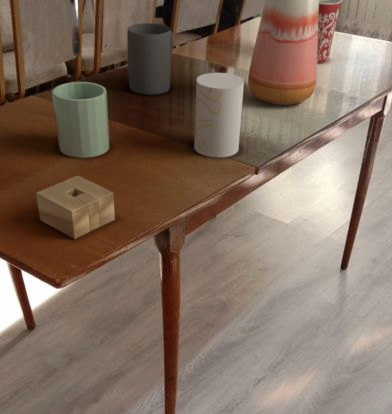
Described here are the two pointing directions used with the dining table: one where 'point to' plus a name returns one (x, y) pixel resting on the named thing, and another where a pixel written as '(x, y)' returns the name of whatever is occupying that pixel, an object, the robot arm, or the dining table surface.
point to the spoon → (75, 27)
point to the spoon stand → (76, 206)
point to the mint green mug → (81, 119)
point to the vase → (285, 52)
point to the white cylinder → (218, 114)
